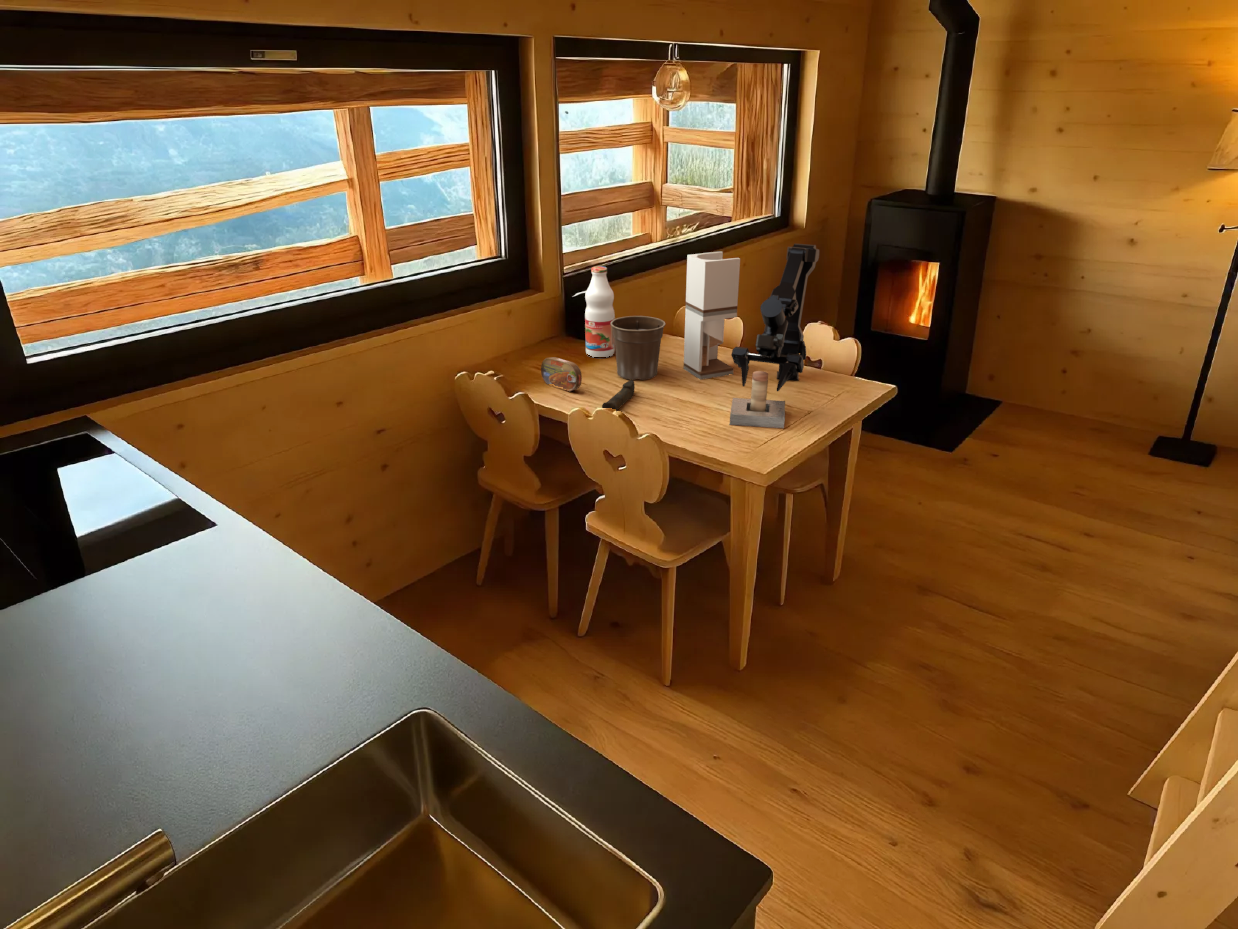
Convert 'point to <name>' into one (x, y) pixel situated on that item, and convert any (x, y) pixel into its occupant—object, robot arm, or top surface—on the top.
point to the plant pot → (637, 346)
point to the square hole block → (757, 414)
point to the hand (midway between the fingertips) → (760, 388)
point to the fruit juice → (599, 315)
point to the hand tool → (621, 396)
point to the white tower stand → (708, 311)
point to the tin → (561, 373)
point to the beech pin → (759, 391)
